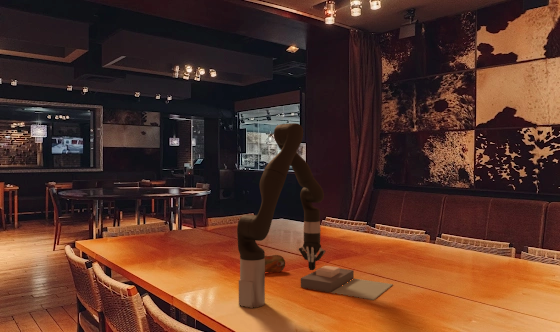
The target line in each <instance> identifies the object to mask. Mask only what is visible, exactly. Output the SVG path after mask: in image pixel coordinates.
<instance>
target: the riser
mask: <svg viewBox="0 0 560 332" xmlns="http://www.w3.org/2000/svg"><path fill="white" fill-rule="evenodd" d="M354 271H355V270H353V269H347V268H340V273H339V274H337V275H335V276H333V277H324V276H318V275H316V270H315V271H312V272H311V273H308V274H306V275H305V276H302V277H300V288H301V287H303V289H307V288H308V290H312V289H313V291H319V292H324V291H325V292H324V293H329V292H330V293H331V294H332V292H333V291H334V290H336V289H338V288H339V287H341V286H342V285H344V284H346V283H347V282H349V281H350V280H352V279H354Z"/></svg>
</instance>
